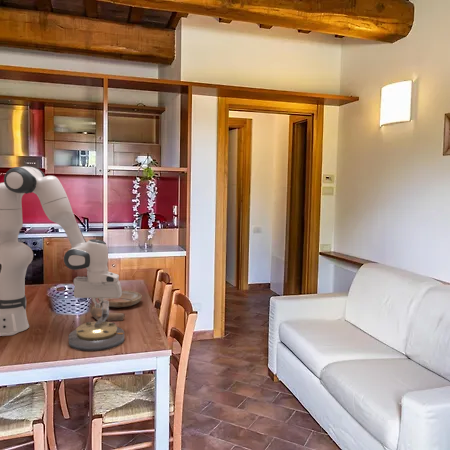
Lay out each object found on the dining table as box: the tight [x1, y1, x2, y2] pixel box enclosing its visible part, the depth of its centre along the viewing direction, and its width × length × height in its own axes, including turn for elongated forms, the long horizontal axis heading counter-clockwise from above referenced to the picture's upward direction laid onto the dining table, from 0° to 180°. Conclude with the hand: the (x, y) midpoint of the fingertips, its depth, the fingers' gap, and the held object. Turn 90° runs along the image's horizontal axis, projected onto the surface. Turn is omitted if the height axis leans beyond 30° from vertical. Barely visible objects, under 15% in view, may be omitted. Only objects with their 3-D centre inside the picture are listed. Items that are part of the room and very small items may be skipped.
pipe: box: [90, 304, 126, 322], centre depth 208 cm, size 6×17×10 cm
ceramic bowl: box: [97, 289, 143, 308], centre depth 233 cm, size 23×24×5 cm
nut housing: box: [68, 326, 125, 352], centre depth 179 cm, size 22×22×3 cm
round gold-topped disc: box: [75, 300, 118, 341], centre depth 182 cm, size 23×16×10 cm
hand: (98, 307), depth 191 cm, fingers closed
